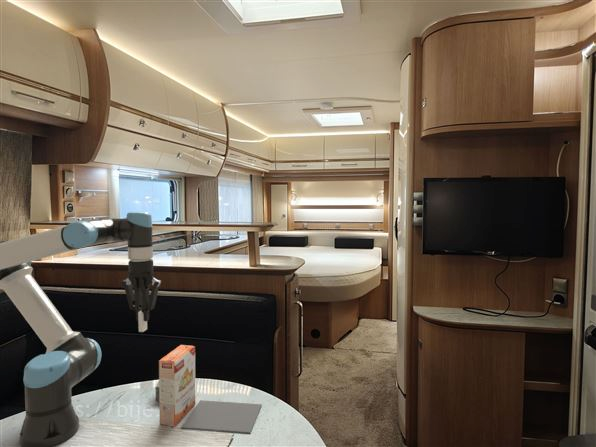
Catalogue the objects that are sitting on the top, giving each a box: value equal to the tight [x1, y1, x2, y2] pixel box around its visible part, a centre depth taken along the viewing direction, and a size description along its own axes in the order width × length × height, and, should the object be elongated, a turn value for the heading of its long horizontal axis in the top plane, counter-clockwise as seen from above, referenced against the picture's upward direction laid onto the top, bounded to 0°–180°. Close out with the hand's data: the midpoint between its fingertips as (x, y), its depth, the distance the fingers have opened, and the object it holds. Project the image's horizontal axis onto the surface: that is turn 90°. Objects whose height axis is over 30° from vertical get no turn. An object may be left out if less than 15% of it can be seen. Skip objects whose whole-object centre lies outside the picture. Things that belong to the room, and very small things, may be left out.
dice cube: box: [155, 380, 159, 402], centre depth 138 cm, size 5×5×5 cm
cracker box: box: [158, 344, 196, 427], centre depth 127 cm, size 14×6×21 cm, turn 168°
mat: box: [180, 399, 263, 434], centre depth 126 cm, size 22×16×1 cm
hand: (143, 330), depth 127 cm, fingers closed
